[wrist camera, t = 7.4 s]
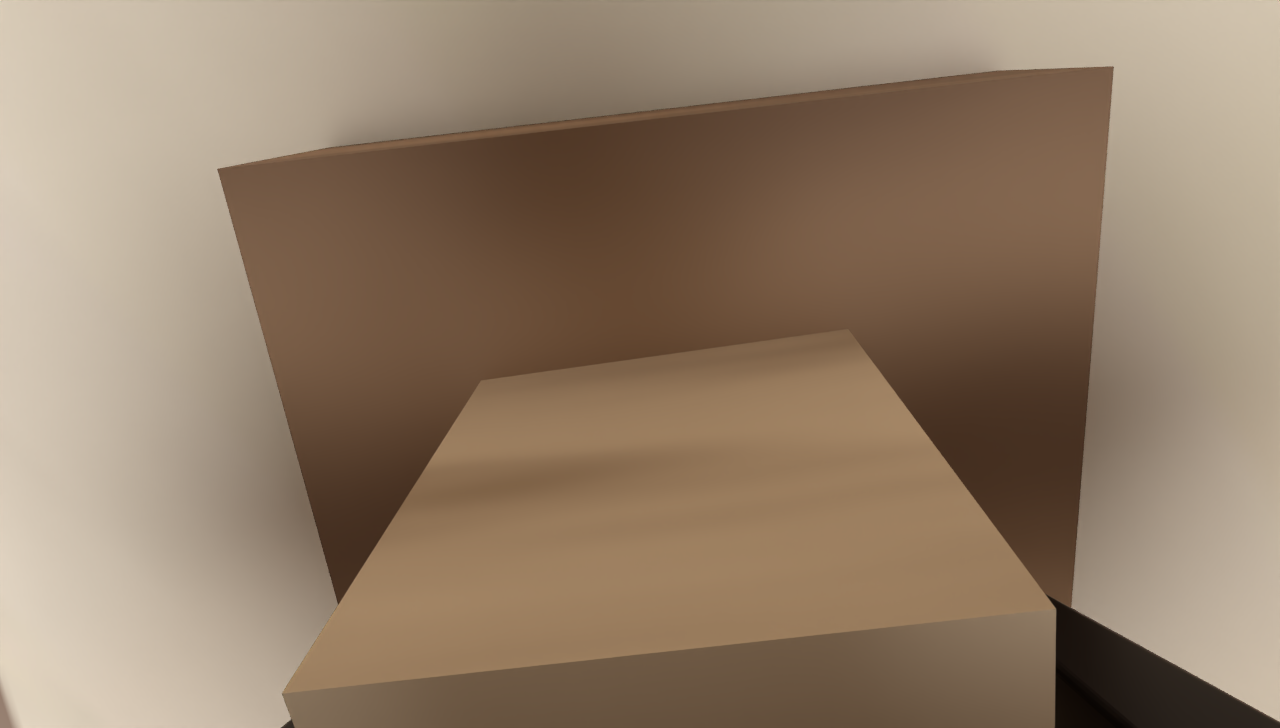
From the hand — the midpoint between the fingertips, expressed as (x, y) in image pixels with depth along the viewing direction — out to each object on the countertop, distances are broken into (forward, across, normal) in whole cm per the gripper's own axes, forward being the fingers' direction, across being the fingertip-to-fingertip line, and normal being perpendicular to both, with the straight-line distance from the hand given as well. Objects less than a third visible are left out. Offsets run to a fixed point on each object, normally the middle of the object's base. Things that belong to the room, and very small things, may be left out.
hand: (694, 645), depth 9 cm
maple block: (+3, 0, 0) cm, 3 cm away
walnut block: (+7, 0, 0) cm, 7 cm away
